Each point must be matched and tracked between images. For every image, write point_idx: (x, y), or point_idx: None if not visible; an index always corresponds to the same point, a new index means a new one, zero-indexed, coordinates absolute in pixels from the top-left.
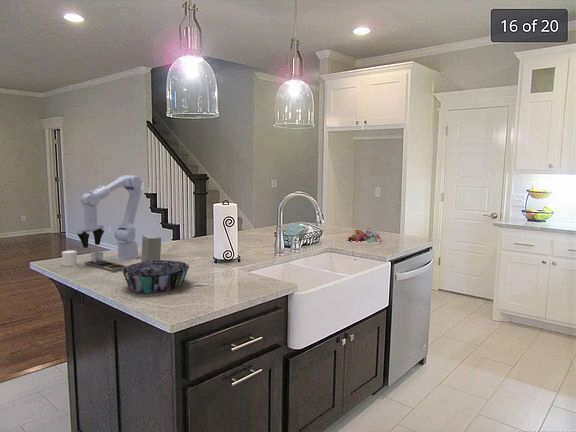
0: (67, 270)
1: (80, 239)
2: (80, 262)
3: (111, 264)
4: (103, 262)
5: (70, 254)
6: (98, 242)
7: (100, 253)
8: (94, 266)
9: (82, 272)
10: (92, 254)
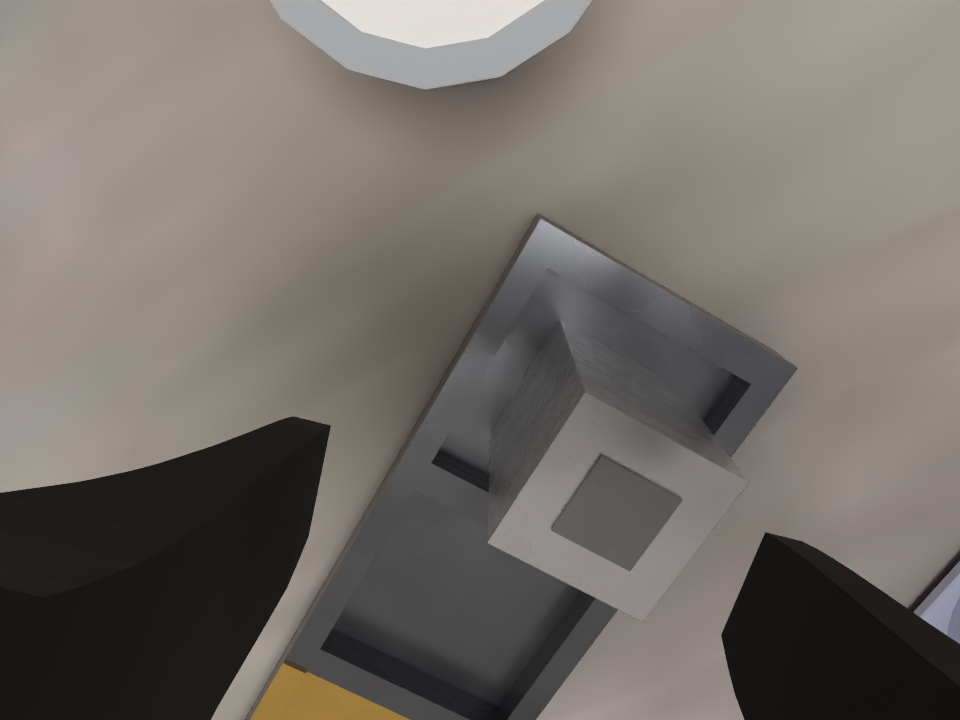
0: (146, 134)
1: (79, 489)
2: (731, 17)
3: (557, 631)
4: None
5: (286, 12)
6: (748, 690)
7: (589, 582)
8: (394, 464)
9: (120, 421)
10: (543, 434)
